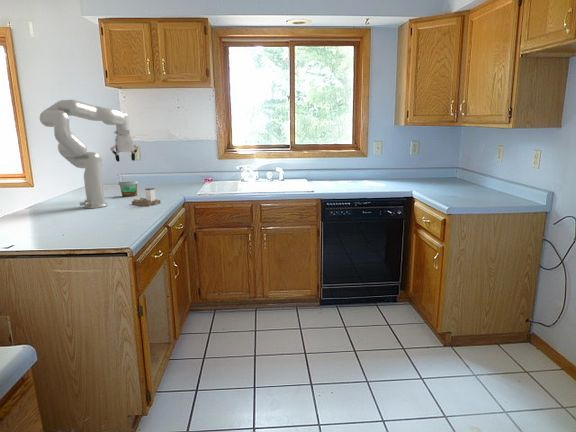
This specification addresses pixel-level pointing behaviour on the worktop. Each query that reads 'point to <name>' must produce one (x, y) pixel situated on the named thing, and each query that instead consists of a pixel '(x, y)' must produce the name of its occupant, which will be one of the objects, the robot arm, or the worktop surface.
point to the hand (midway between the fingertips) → (125, 160)
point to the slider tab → (150, 194)
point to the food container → (128, 188)
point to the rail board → (145, 202)
